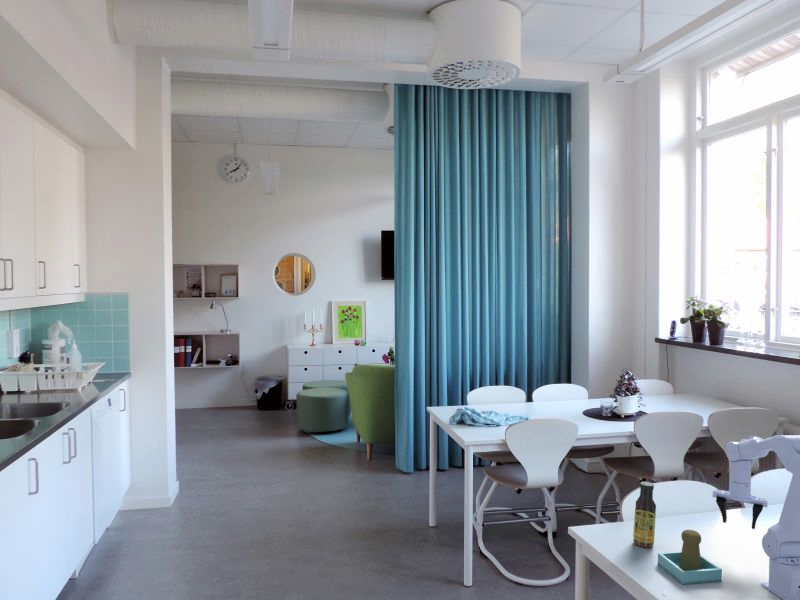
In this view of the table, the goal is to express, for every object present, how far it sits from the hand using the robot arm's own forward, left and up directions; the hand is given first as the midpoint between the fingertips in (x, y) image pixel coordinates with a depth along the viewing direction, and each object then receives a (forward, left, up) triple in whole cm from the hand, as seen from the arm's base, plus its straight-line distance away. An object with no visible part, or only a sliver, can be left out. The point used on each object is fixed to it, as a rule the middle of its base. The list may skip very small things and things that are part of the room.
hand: (738, 524), depth 182 cm
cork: (-6, +20, -10) cm, 23 cm away
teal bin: (-7, +22, -10) cm, 25 cm away
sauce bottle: (+12, +24, -10) cm, 29 cm away
